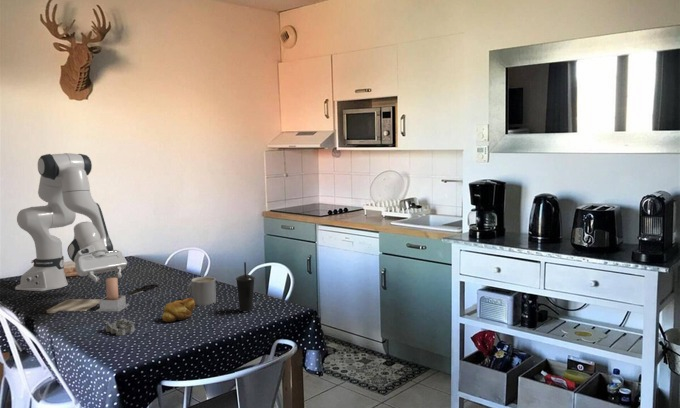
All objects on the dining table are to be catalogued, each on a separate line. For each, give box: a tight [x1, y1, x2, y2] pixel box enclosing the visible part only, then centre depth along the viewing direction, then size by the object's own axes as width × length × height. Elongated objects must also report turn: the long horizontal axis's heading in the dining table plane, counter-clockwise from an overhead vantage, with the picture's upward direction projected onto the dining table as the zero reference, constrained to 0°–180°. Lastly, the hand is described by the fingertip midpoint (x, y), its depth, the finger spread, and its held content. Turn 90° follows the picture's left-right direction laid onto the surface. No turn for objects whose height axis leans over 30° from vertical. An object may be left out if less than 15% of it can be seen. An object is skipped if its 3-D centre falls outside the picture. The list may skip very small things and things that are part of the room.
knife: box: [126, 283, 159, 296], centre depth 254 cm, size 25×6×1 cm, turn 154°
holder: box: [95, 295, 131, 312], centre depth 227 cm, size 10×10×5 cm
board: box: [46, 298, 102, 314], centre depth 231 cm, size 16×16×1 cm
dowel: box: [105, 277, 119, 300], centre depth 227 cm, size 4×4×12 cm
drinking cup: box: [235, 262, 256, 311], centre depth 224 cm, size 8×8×20 cm
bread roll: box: [161, 297, 196, 323], centre depth 215 cm, size 13×10×8 cm
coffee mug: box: [188, 276, 217, 307], centre depth 238 cm, size 13×10×10 cm
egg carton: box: [103, 318, 136, 336], centre depth 201 cm, size 11×8×4 cm
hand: (108, 279), depth 227 cm, fingers open, 8 cm apart
